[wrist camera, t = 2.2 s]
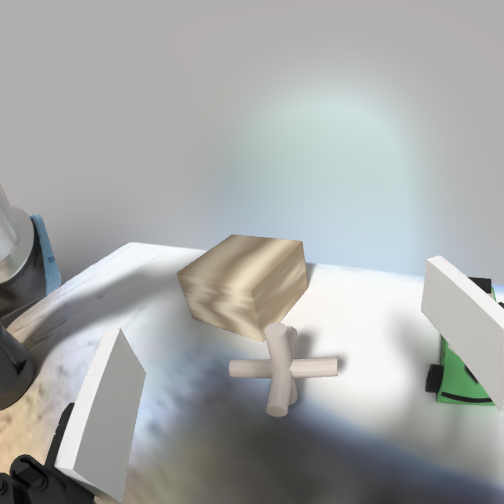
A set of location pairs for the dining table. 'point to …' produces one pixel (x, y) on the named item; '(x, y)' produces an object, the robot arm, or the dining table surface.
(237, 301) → the birch block
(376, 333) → the dining table surface
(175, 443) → the dining table surface
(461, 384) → the toy car
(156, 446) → the dining table surface
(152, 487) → the dining table surface
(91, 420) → the robot arm
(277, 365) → the pipe connector
